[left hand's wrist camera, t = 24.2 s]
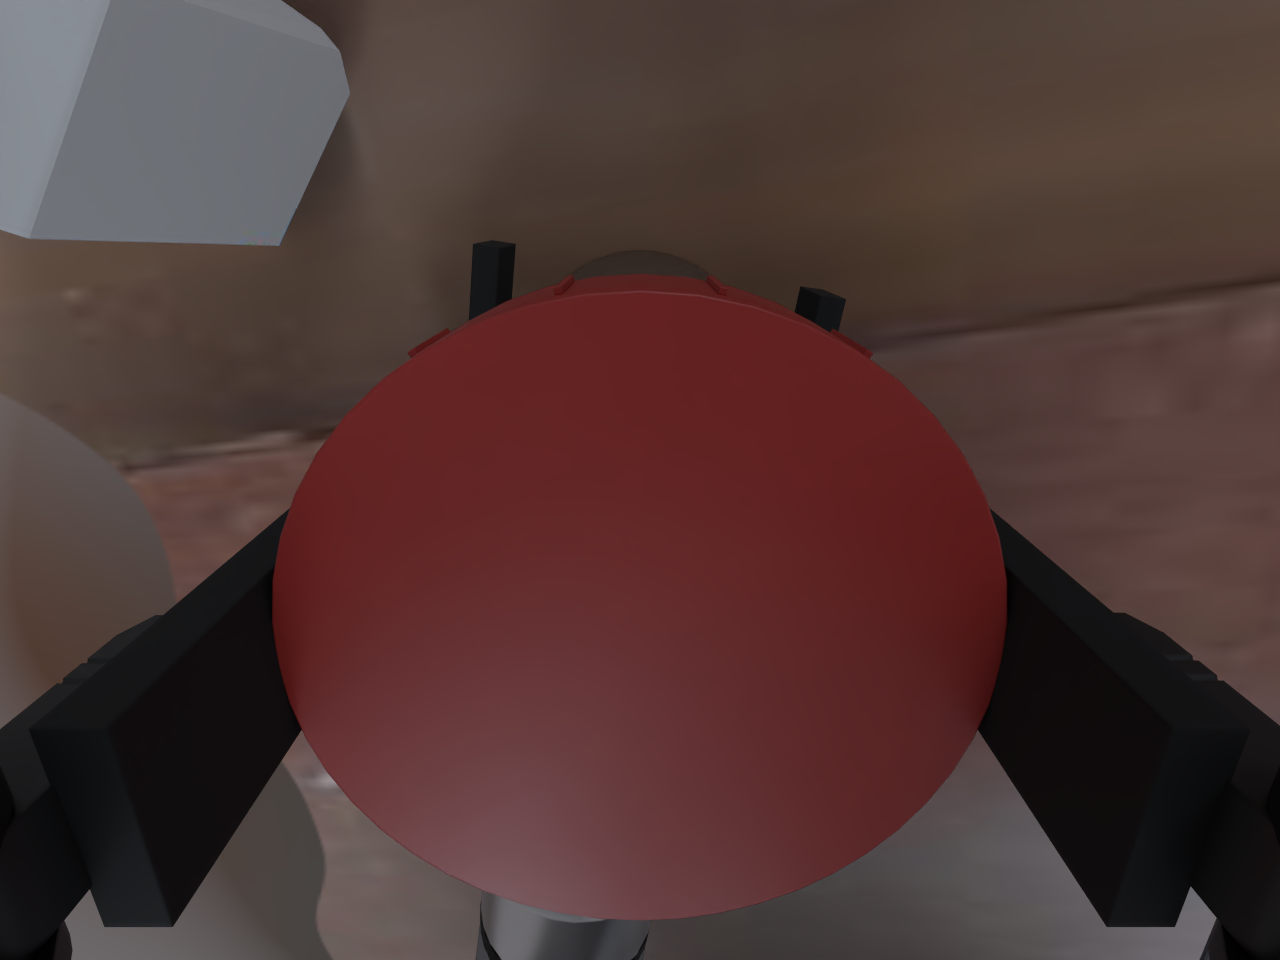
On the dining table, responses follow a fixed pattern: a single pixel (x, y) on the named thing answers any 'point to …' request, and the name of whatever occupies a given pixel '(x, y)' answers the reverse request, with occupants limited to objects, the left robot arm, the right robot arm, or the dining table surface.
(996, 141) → the dining table surface
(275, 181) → the electronic device
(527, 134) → the dining table surface
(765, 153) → the dining table surface
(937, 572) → the lid
